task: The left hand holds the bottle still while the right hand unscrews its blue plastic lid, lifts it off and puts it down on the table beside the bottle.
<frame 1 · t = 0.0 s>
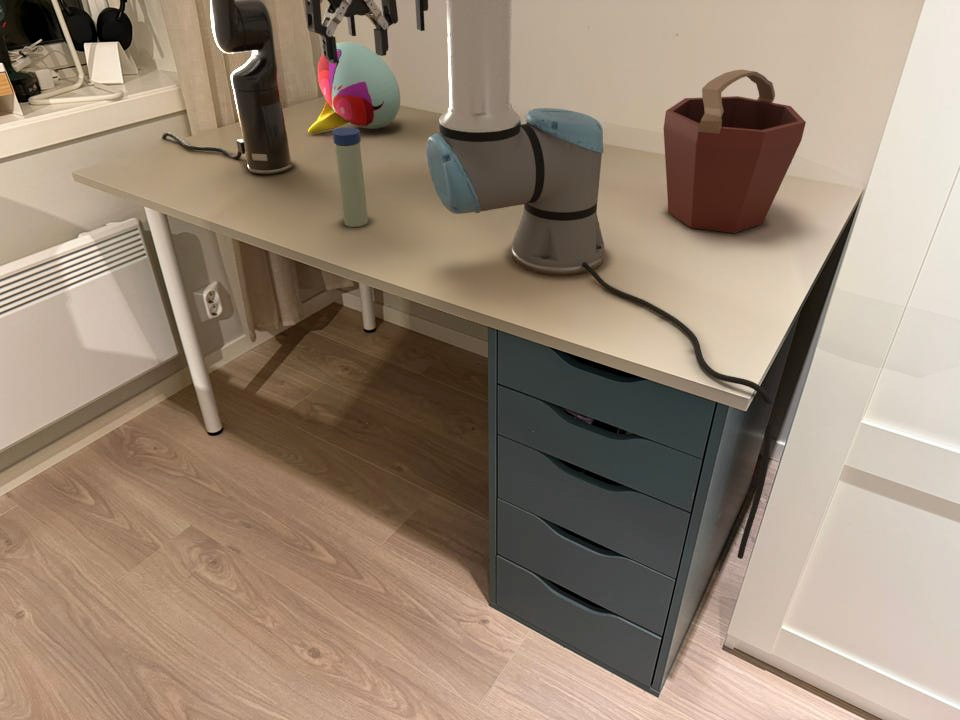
left hand: (357, 58, 109), 29 cm above the table, tool pointing down, fingers open, 8 cm apart
right hand: (387, 32, 136), 28 cm above the table, tool pointing down, fingers open, 13 cm apart
bucket: (711, 214, 132), on the table
beverage cup: (495, 170, 153), on the table
bottle: (356, 222, 130), on the table
toy: (354, 128, 180), on the table
lid: (346, 133, 121), point 16 cm above the table, screwed on, not yet turned
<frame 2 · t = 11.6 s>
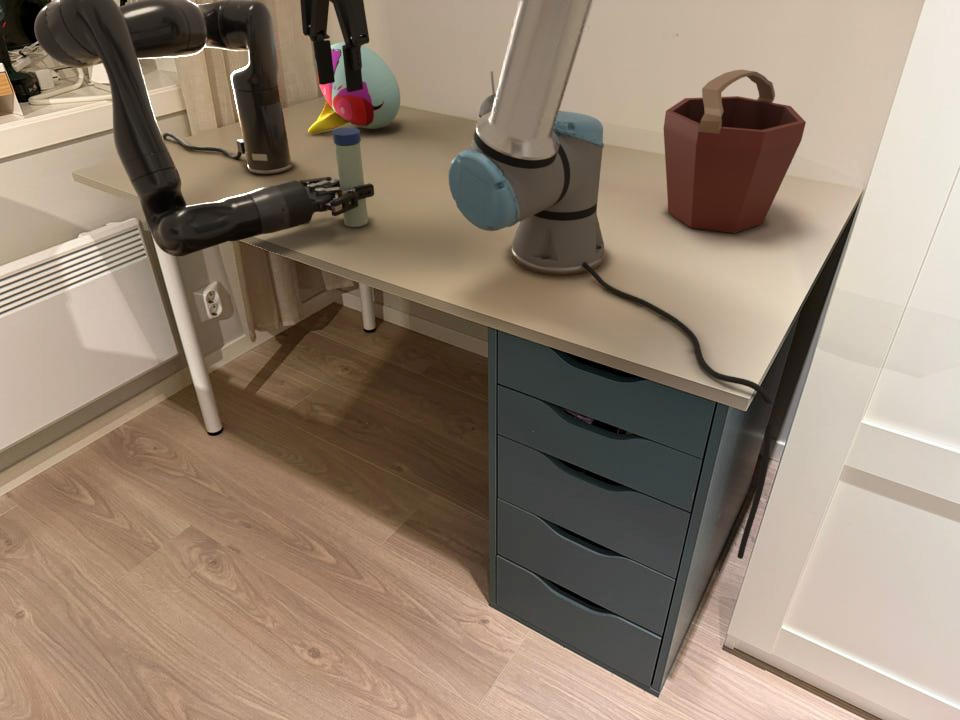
left hand: (365, 185, 128), 6 cm above the table, tool horizontal, fingers closed on bottle, 4 cm apart
right hand: (340, 86, 117), 24 cm above the table, tool pointing down, fingers open, 7 cm apart
bottle: (356, 222, 130), on the table, touching left hand
everything else where it was.
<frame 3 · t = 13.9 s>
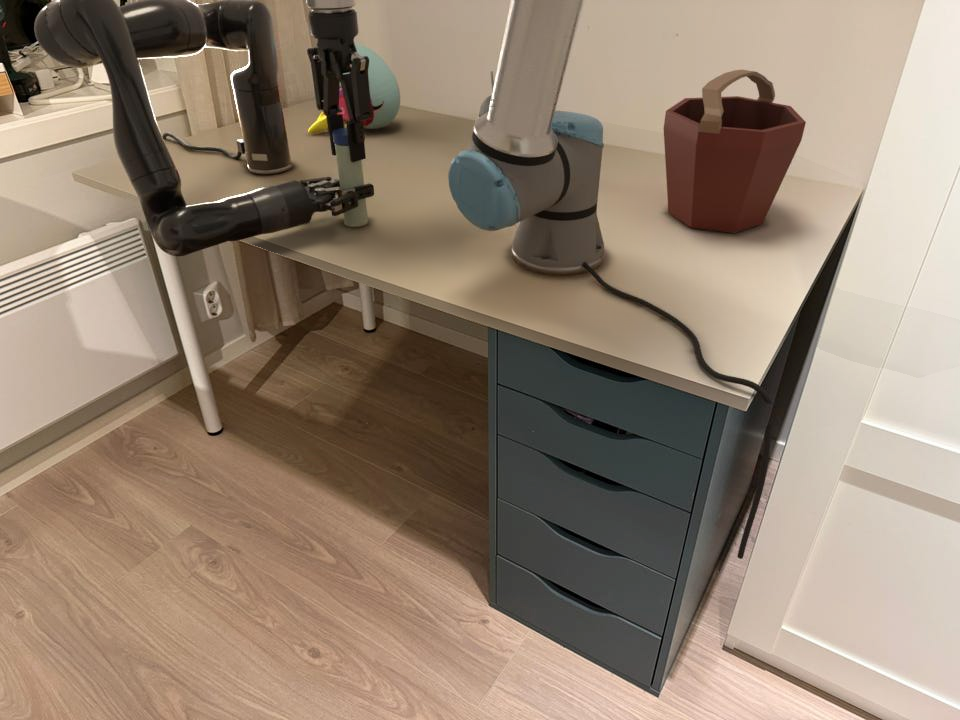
left hand: (365, 185, 128), 6 cm above the table, tool horizontal, fingers closed on bottle, 4 cm apart
right hand: (348, 156, 123), 12 cm above the table, tool pointing down, fingers closed on lid, 5 cm apart
bottle: (356, 222, 130), on the table, touching left hand
lid: (346, 133, 121), point 16 cm above the table, screwed on, not yet turned, touching right hand
everything else where it was.
when the right hand's fingers open (13 cm above the table, at t = 15.1 s): lid stays where it is, point 16 cm above the table.
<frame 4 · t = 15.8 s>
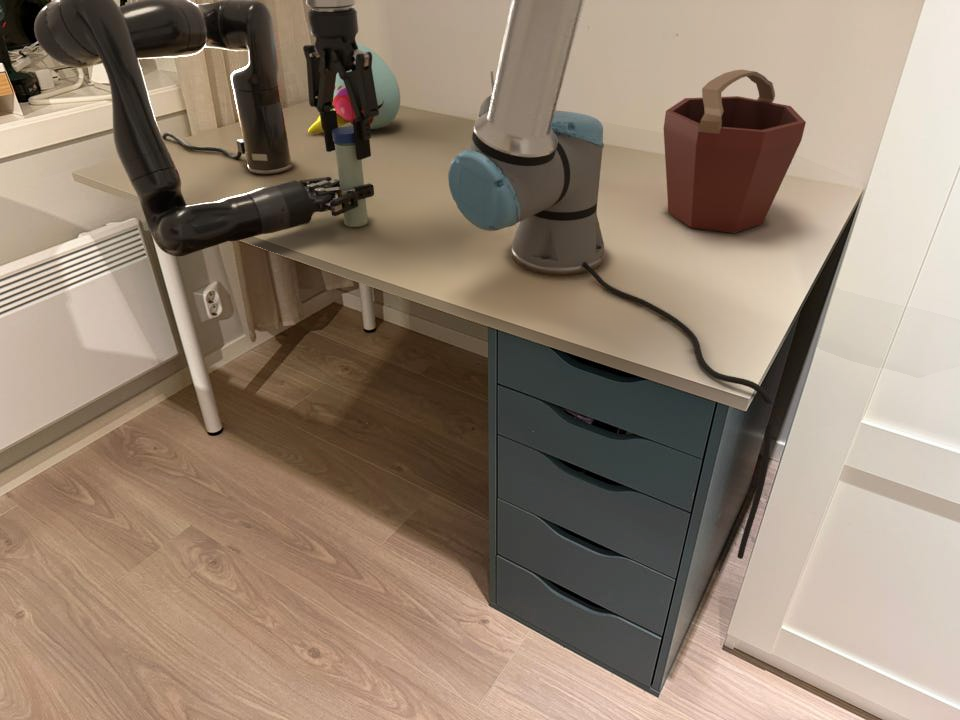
left hand: (365, 185, 128), 6 cm above the table, tool horizontal, fingers closed on bottle, 4 cm apart
right hand: (348, 153, 123), 13 cm above the table, tool pointing down, fingers open, 7 cm apart
bottle: (356, 222, 130), on the table, touching left hand
lid: (346, 132, 121), point 16 cm above the table, turned 73° so far, risen 0.2 cm, still on its thread
everything else where it was.
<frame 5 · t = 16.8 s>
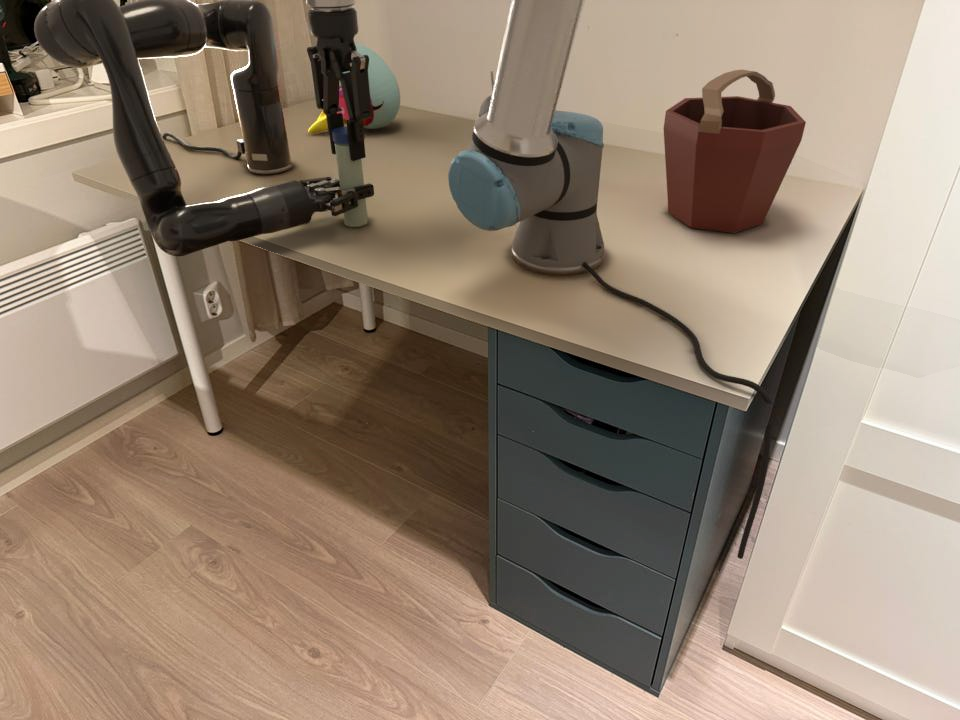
left hand: (365, 185, 128), 6 cm above the table, tool horizontal, fingers closed on bottle, 4 cm apart
right hand: (348, 155, 123), 13 cm above the table, tool pointing down, fingers closed on lid, 5 cm apart
bottle: (356, 222, 130), on the table, touching left hand
lid: (346, 132, 121), point 16 cm above the table, turned 73° so far, risen 0.2 cm, still on its thread, touching right hand
everything else where it was.
when the right hand's fingers open (0 cm above the table, at t = 24.0 s): lid drops 3 cm, point 1 cm above the table.
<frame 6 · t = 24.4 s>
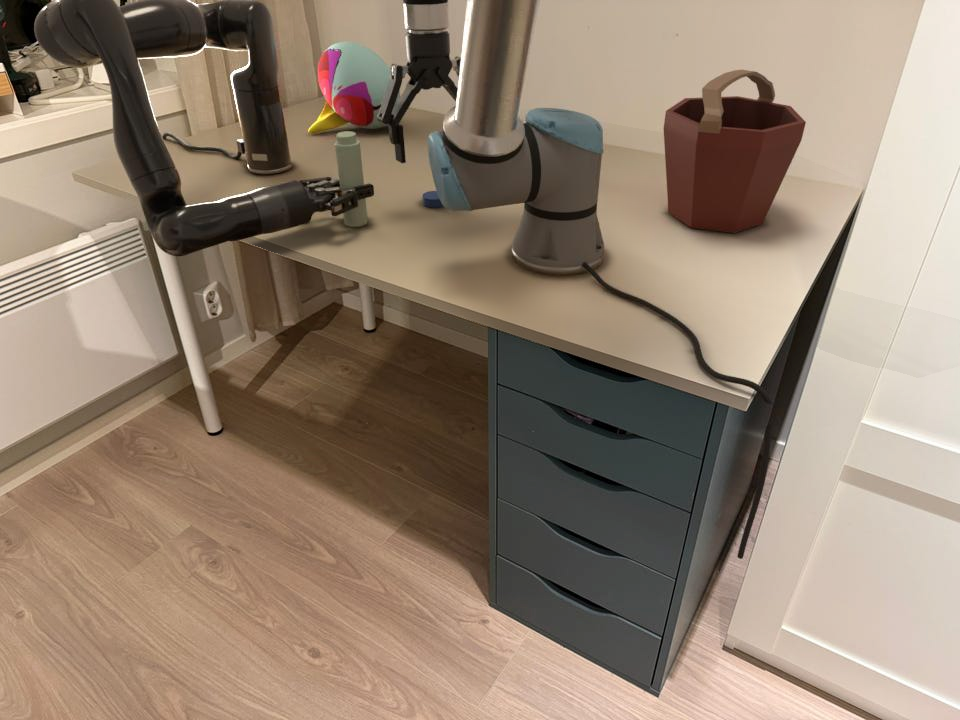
left hand: (365, 185, 128), 6 cm above the table, tool horizontal, fingers closed on bottle, 4 cm apart
right hand: (434, 155, 131), 10 cm above the table, tool pointing down, fingers open, 13 cm apart
bottle: (356, 222, 130), on the table, touching left hand
lid: (434, 196, 137), point 1 cm above the table, off its thread
everything else where it was.
when the left hand's fingers open (6 cm above the table, at t = 24.6 s): bottle stays where it is, on the table.
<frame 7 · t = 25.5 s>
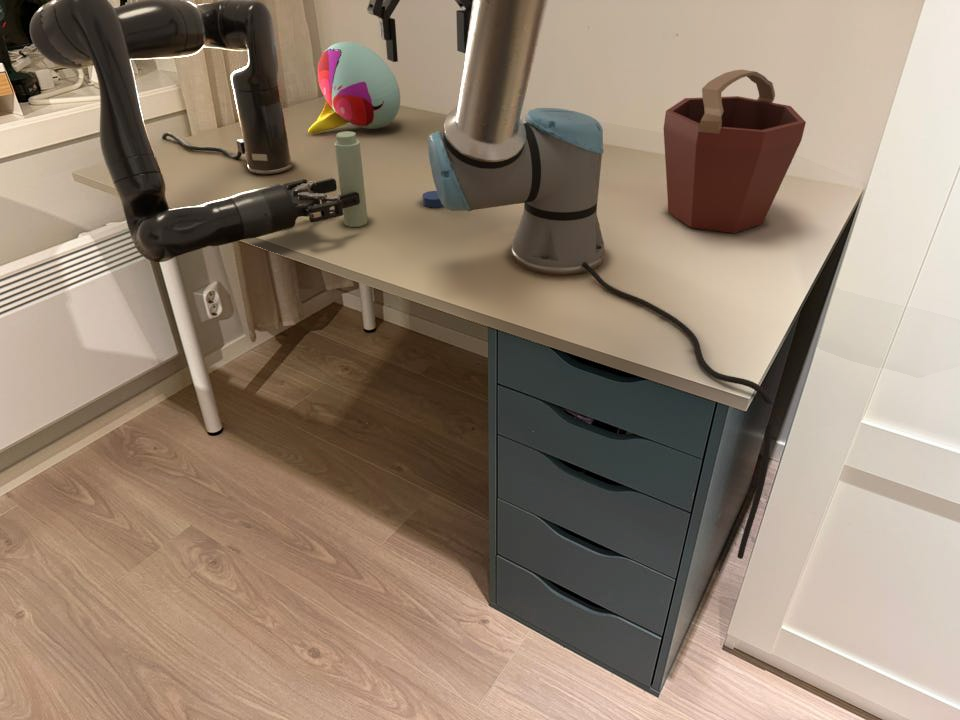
left hand: (346, 190, 126), 6 cm above the table, tool horizontal, fingers open, 8 cm apart
right hand: (428, 56, 122), 27 cm above the table, tool pointing down, fingers open, 13 cm apart
bottle: (356, 222, 130), on the table
everything else where it was.
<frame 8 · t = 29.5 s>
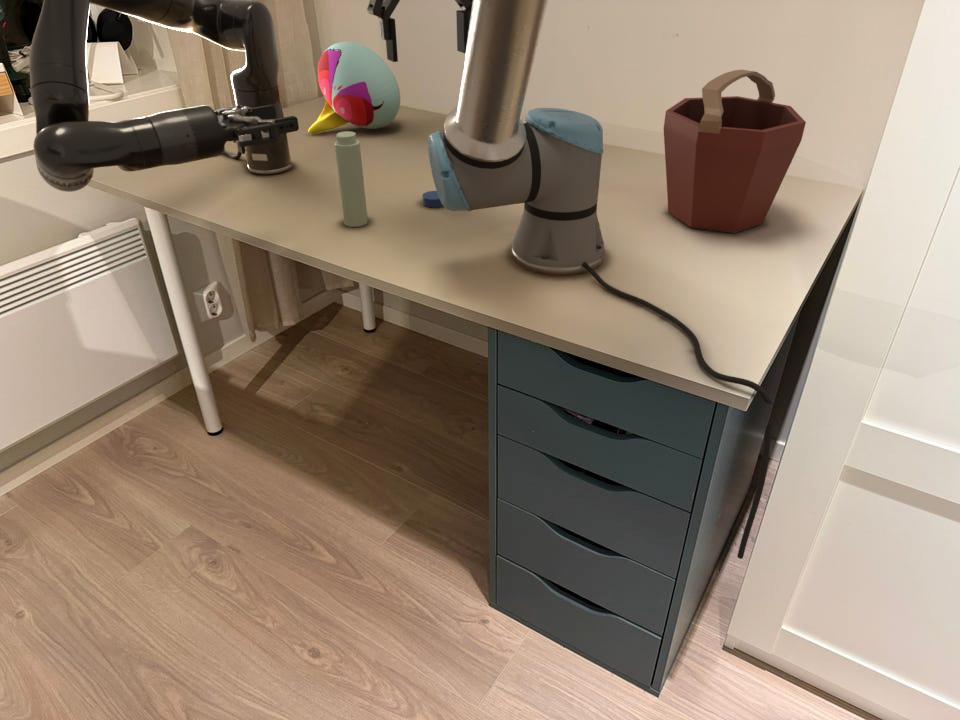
left hand: (285, 117, 113), 21 cm above the table, tool horizontal, fingers open, 8 cm apart
right hand: (428, 56, 122), 27 cm above the table, tool pointing down, fingers open, 13 cm apart
nothing on the table moved.
at the end: lid came off its thread; lid point 1.3 cm above the table; the left hand is holding nothing; the right hand is holding nothing; bottle tilted 0°; bottle moved 0.0 cm from its start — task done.
